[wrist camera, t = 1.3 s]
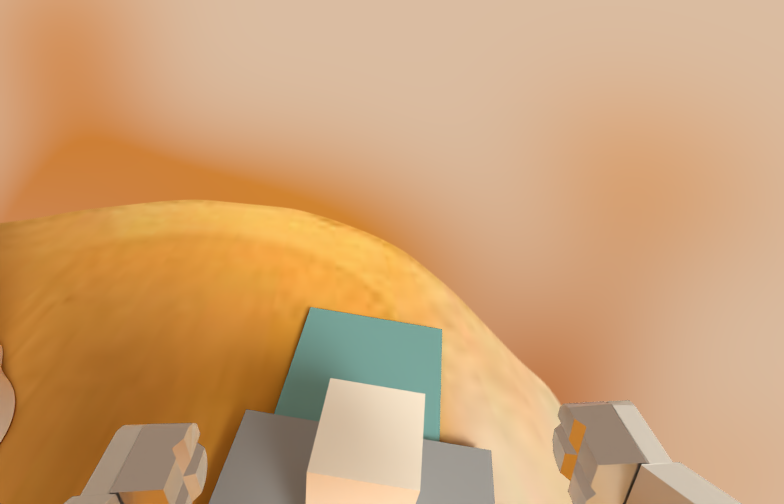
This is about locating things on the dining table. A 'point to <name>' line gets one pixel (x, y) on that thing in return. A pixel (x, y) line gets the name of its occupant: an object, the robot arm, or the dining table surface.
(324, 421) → the cream block
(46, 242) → the dining table surface
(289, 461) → the deck
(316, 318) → the mat
